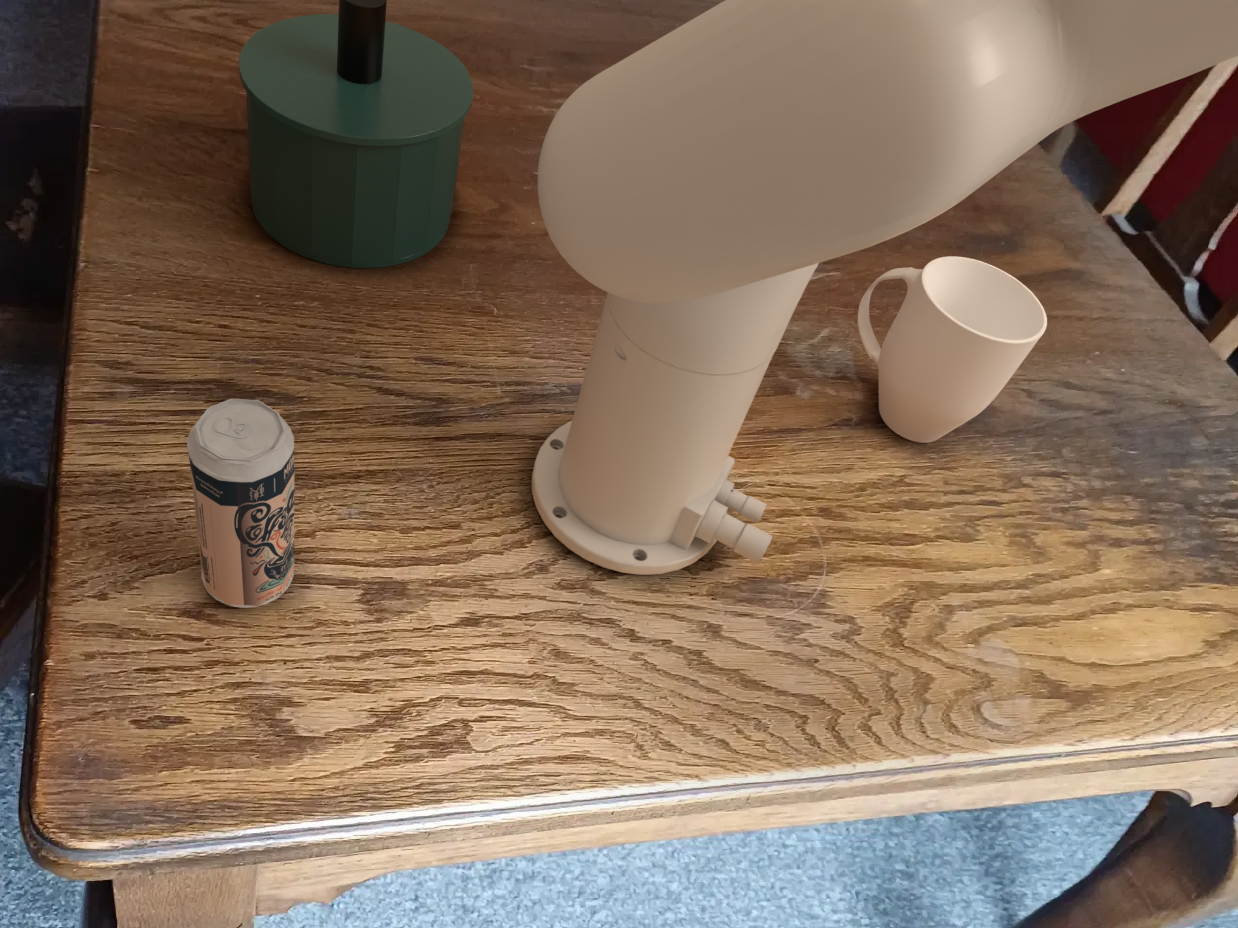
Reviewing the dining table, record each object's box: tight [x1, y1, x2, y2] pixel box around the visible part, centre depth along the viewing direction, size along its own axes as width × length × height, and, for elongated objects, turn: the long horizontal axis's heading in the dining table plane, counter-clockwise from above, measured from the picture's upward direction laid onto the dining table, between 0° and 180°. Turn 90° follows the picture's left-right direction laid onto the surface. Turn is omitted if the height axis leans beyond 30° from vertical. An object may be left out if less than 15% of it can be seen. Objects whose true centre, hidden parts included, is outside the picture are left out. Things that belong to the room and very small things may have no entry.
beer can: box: [186, 398, 295, 609], centre depth 54 cm, size 5×5×12 cm
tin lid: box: [238, 0, 474, 146], centre depth 72 cm, size 16×16×7 cm
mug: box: [857, 255, 1048, 444], centre depth 76 cm, size 12×9×12 cm
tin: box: [245, 91, 465, 269], centre depth 78 cm, size 15×15×10 cm
